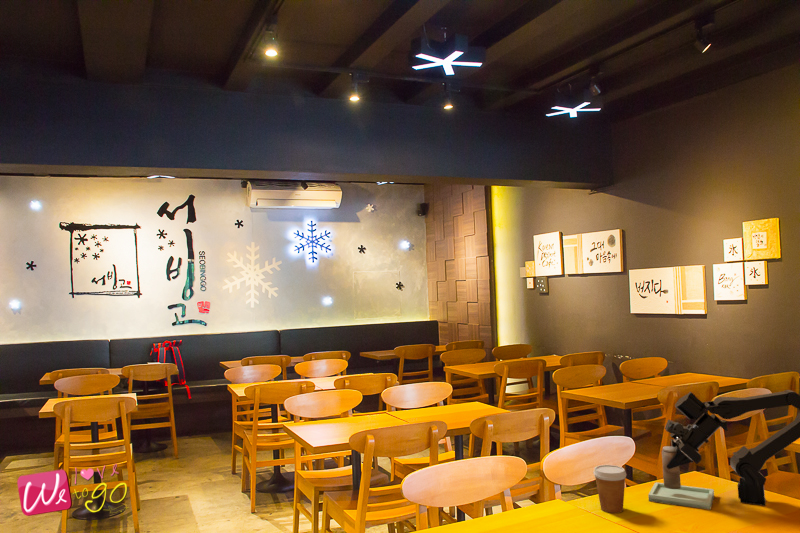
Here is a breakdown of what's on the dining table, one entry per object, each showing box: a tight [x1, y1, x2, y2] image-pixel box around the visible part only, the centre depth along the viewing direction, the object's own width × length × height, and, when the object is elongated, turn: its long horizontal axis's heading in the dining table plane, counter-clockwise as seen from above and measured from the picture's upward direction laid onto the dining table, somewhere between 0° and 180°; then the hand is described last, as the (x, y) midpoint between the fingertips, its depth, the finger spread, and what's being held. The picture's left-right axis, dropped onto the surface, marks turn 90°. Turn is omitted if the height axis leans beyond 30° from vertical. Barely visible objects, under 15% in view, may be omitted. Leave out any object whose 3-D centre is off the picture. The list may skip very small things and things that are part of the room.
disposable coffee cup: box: [592, 464, 627, 514], centre depth 178 cm, size 10×10×12 cm
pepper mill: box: [661, 445, 681, 489], centre depth 186 cm, size 5×5×12 cm
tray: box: [647, 482, 715, 511], centre depth 184 cm, size 17×13×2 cm
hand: (666, 465), depth 186 cm, fingers closed on pepper mill, 5 cm apart
